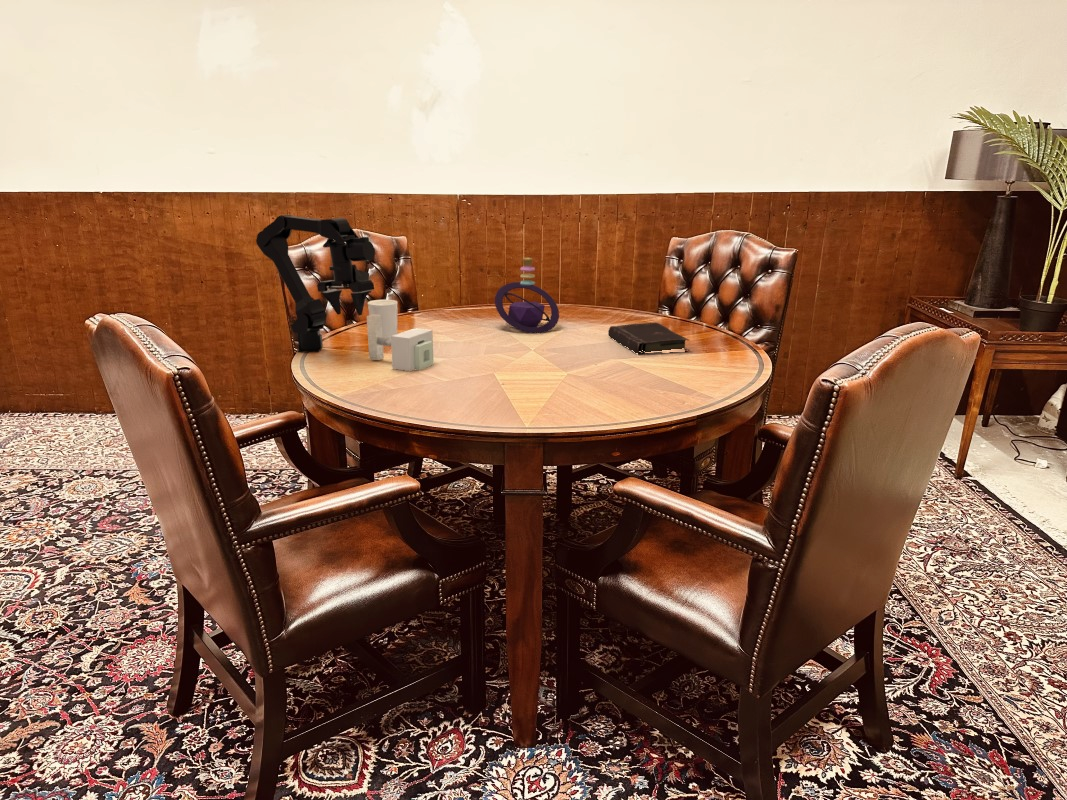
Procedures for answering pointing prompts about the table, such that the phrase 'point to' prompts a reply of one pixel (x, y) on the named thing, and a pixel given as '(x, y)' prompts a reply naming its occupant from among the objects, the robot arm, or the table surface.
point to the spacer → (418, 351)
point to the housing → (408, 347)
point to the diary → (647, 337)
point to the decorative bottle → (526, 305)
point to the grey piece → (376, 337)
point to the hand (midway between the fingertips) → (349, 314)
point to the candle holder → (385, 315)
